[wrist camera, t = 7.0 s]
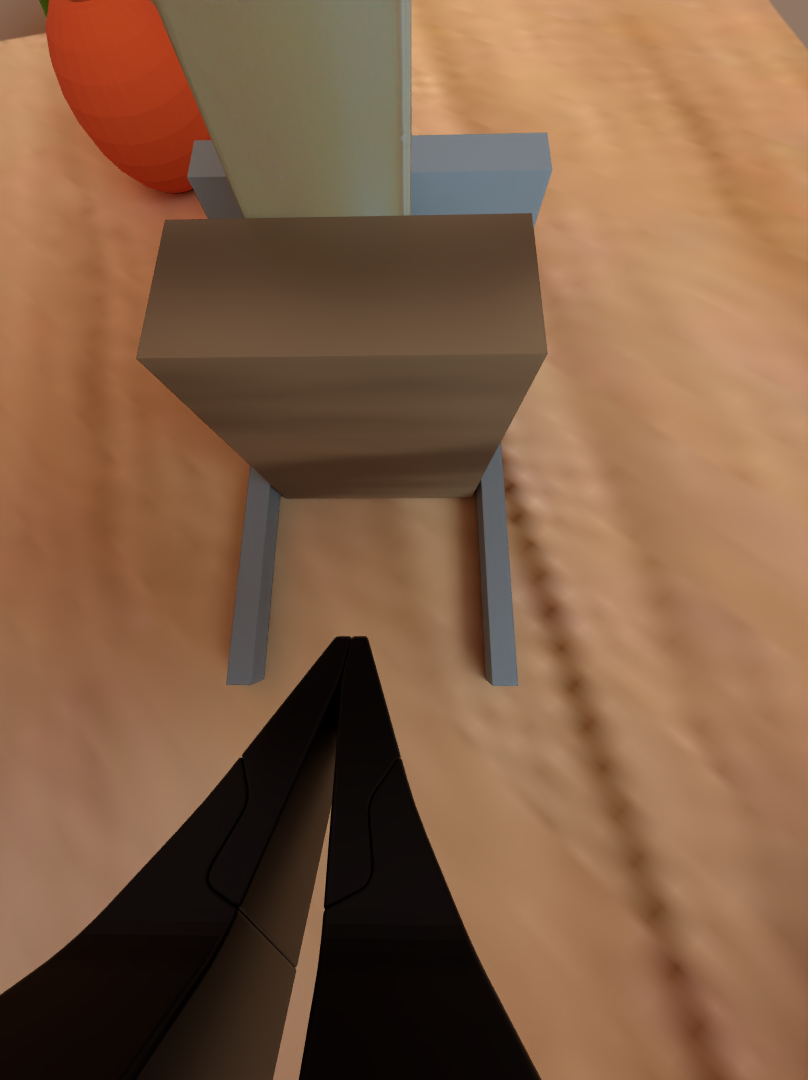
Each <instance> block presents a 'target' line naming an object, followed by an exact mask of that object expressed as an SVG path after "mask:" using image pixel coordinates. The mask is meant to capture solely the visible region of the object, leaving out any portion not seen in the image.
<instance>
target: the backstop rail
mask: <svg viewBox="0 0 808 1080" xmlns="http://www.w3.org/2000/svg"><path fill="white" fill-rule="evenodd" d="M551 172H552V164H551V157H550V150H549V142H548V135H547V133H508V134H464V135H419V136H411V215H459V214H513V213H532V219H533V228H534V225H535V222H536V219H537V216H538V212H539V209H540V206H541V203H542V200H543V197H544V194H545V191H546V188H547V184H548V181H549V178H550V175H551ZM187 178H188V180H189V182H190V184H191V186H192V188H193V190H194V192H195V194H196V196H197V198H198V200H199V202H200V204H201V206H202V208H203V210H204V212H205V214H206V216H207V217H208V219H244V217H243V215H242V213H241V211H240V208H239V205H238V203H237V200H236V198H235V196H234V193H233V191H232V189H231V186H230V184H229V182H228V179H227V177H226V174H225V172H224V169H223V167H222V164H221V162H220V159H219V157H218V155H217V152H216V150H215V147H214V145H213V142H212V140H195V141H194V145H193V150H192V155H191V160H190V165H189V170H188V175H187ZM476 497H477V517H478V536H479V556H480V576H481V595H482V615H483V635H484V654H485V674H486V680H487V681H488V682H489V683H490V684H491V685H492V686H518V677H517V662H516V648H515V634H514V620H513V606H512V592H511V578H510V563H509V549H508V535H507V521H506V507H505V493H504V479H503V464H502V450H501V442H500V444H499V446H498V448H497V450H496V452H495V454H494V456H493V457H492V459H491V461H490V463H489V465H488V467H487V469H486V471H485V473H484V474H483V476H482V478H481V480H480V482H479V484H478V486H477V488H476ZM279 501H280V493H279V492H278V491H277V490H276V489H275V488H274V487H273V486H272V485H271V484H270V483H269V482H268V481H266V480H265V479H264V478H263V477H262V476H261V475H260V474H259V473H258V472H257V471H256V470H255V469H254V468H253V467H252V466H250V474H249V483H248V492H247V501H246V510H245V519H244V528H243V537H242V546H241V555H240V564H239V573H238V582H237V591H236V600H235V609H234V618H233V627H232V636H231V645H230V654H229V663H228V673H227V682H226V685H252V684H254V683H256V682H258V681H261V680H263V679H264V673H265V661H266V650H267V638H268V627H269V615H270V604H271V593H272V581H273V570H274V558H275V547H276V536H277V524H278V513H279Z"/></svg>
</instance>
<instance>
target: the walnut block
mask: <svg viewBox="0 0 808 1080" xmlns="http://www.w3.org/2000/svg"><path fill="white" fill-rule="evenodd" d="M547 354H548V353H547V344H546V335H545V326H544V317H543V308H542V299H541V290H540V281H539V273H538V264H537V255H536V246H535V237H534V228H533V219H532V213H513V214H459V215H406V216H352V217H298V218H245V219H191V220H165V223H164V228H163V233H162V237H161V242H160V247H159V252H158V257H157V261H156V266H155V271H154V276H153V280H152V285H151V290H150V295H149V300H148V304H147V309H146V314H145V319H144V324H143V328H142V333H141V338H140V343H139V347H138V352H137V357H136V359H137V360H138V361H139V362H141V363H142V364H143V365H144V366H145V367H146V368H147V369H148V370H149V371H150V372H151V373H152V374H153V375H154V376H155V377H157V378H158V379H159V380H160V381H161V382H162V383H163V384H164V385H165V386H166V387H167V388H168V389H169V390H170V391H171V392H173V393H174V394H175V395H176V396H177V397H178V398H179V399H180V400H181V401H182V402H183V403H184V404H185V405H186V406H187V407H189V408H190V409H191V410H192V411H193V412H194V413H195V414H196V415H197V416H198V417H199V418H200V419H201V420H202V421H204V422H205V423H206V424H207V425H208V426H209V427H210V428H211V429H212V430H213V431H214V432H215V433H216V434H217V435H218V436H220V437H221V438H222V439H223V440H224V441H225V442H226V443H227V444H228V445H229V446H230V447H231V448H232V449H233V450H234V451H236V452H237V453H238V454H239V455H240V456H241V457H242V458H243V459H244V460H245V461H246V462H247V463H248V464H249V465H250V466H252V467H253V468H254V469H255V470H256V471H257V472H258V473H259V474H260V475H261V476H262V477H263V478H264V479H265V480H266V481H268V482H269V483H270V484H271V485H272V486H273V487H274V488H275V489H276V490H277V491H278V492H279V493H280V494H281V495H282V496H284V497H285V498H467V497H472V495H473V493H474V491H475V490H476V488H477V486H478V484H479V482H480V480H481V478H482V476H483V474H484V473H485V471H486V469H487V467H488V465H489V463H490V461H491V459H492V457H493V456H494V454H495V452H496V450H497V448H498V446H499V444H500V442H501V440H502V439H503V437H504V435H505V433H506V431H507V429H508V427H509V425H510V424H511V422H512V420H513V418H514V416H515V414H516V412H517V410H518V408H519V407H520V405H521V403H522V401H523V399H524V397H525V395H526V393H527V391H528V390H529V388H530V386H531V384H532V382H533V380H534V378H535V376H536V374H537V373H538V371H539V369H540V367H541V365H542V363H543V361H544V359H545V357H546V356H547Z"/></svg>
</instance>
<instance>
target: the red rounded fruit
mask: <svg viewBox="0 0 808 1080" xmlns="http://www.w3.org/2000/svg"><path fill="white" fill-rule="evenodd" d="M39 1H40V3H41V6H42V8H43V10H44V13H45V16H46V17H47V21H46V34H47V40H48V47H49V53H50V58H51V62H52V65H53V68H54V71H55V74H56V76H57V79H58V82H59V84H60V87H61V90H62V92H63V95H64V97H65V99H66V101H67V103H68V104H69V106H70V108H71V110H72V111H73V113H74V115H75V117H76V118H77V120H78V122H79V124H80V125H81V126H82V127H83V129H84V130H85V131H86V132H87V134H88V135H89V136H90V138H91V139H92V140H93V141H94V143H95V144H96V145H97V146H98V148H99V149H100V150H101V151H102V153H103V154H104V155H105V156H106V157H107V158H108V159H109V160H111V161H112V162H113V163H114V164H115V165H116V166H117V167H118V168H119V169H120V170H121V171H123V172H124V173H126V174H127V175H129V176H131V177H132V178H134V179H135V180H137V181H139V182H140V183H142V184H144V185H145V186H147V187H150V188H153V189H156V190H160V191H164V192H169V193H180V192H185V191H188V190H191V189H193V188H192V186H191V184H190V182H189V180H188V178H187V175H188V170H189V165H190V160H191V155H192V150H193V145H194V141H195V140H211V138H210V135H209V133H208V130H207V128H206V125H205V123H204V121H203V118H202V116H201V113H200V111H199V108H198V106H197V104H196V101H195V99H194V96H193V94H192V91H191V89H190V87H189V84H188V82H187V80H186V77H185V75H184V73H183V70H182V68H181V66H180V63H179V61H178V58H177V56H176V54H175V51H174V49H173V47H172V44H171V42H170V39H169V37H168V35H167V32H166V30H165V27H164V25H163V22H162V20H161V18H160V15H159V13H158V10H157V8H156V7H155V6H154V5H153V4H152V2H151V1H149V0H39Z"/></svg>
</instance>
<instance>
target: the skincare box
mask: <svg viewBox="0 0 808 1080" xmlns="http://www.w3.org/2000/svg"><path fill="white" fill-rule="evenodd" d="M154 3H155V5H156V8H157V10H158V13H159V15H160V18H161V20H162V22H163V25H164V27H165V30H166V32H167V35H168V37H169V39H170V42H171V44H172V47H173V49H174V51H175V54H176V56H177V58H178V61H179V63H180V66H181V68H182V70H183V73H184V75H185V77H186V80H187V82H188V84H189V87H190V89H191V91H192V94H193V96H194V99H195V101H196V104H197V106H198V108H199V111H200V113H201V116H202V118H203V121H204V123H205V125H206V128H207V130H208V133H209V135H210V138H211V140H212V142H213V145H214V147H215V150H216V152H217V155H218V157H219V159H220V162H221V164H222V167H223V169H224V172H225V174H226V177H227V179H228V182H229V184H230V186H231V189H232V191H233V193H234V196H235V198H236V200H237V203H238V205H239V208H240V211H241V213H242V215H243V217H244V219H245V218H298V217H352V216H406V215H411V0H154Z"/></svg>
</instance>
